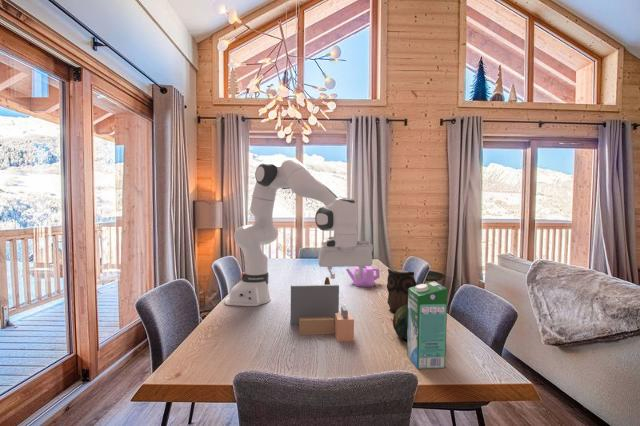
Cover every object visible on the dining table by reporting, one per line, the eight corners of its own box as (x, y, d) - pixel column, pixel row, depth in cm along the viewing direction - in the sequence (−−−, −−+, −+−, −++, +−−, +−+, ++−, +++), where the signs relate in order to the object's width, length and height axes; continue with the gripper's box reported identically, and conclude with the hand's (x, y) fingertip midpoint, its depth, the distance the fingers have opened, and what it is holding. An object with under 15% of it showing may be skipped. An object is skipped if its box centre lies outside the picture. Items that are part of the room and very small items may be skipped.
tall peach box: (337, 341, 116) (338, 311, 116) (334, 333, 123) (335, 305, 123) (353, 340, 117) (354, 311, 117) (350, 332, 124) (350, 305, 124)
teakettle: (366, 289, 186) (366, 268, 185) (343, 283, 198) (344, 263, 197) (382, 284, 198) (383, 264, 197) (360, 279, 210) (361, 260, 209)
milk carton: (406, 354, 107) (408, 280, 106) (432, 354, 107) (434, 280, 106) (417, 369, 98) (419, 288, 97) (445, 368, 98) (447, 288, 97)
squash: (389, 314, 130) (395, 294, 119) (426, 316, 129) (436, 296, 119) (392, 348, 119) (400, 330, 109) (433, 351, 119) (444, 333, 109)
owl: (419, 317, 141) (420, 272, 141) (391, 317, 141) (392, 272, 140) (410, 307, 154) (411, 266, 153) (384, 307, 154) (385, 266, 153)
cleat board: (290, 334, 121) (291, 293, 121) (290, 319, 137) (290, 282, 136) (342, 333, 123) (343, 292, 123) (336, 318, 139) (337, 282, 138)
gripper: (370, 240, 123) (370, 275, 123) (317, 240, 121) (317, 276, 121) (375, 242, 117) (374, 279, 117) (319, 242, 115) (319, 280, 115)
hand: (345, 278), depth 119 cm, fingers open, 8 cm apart
